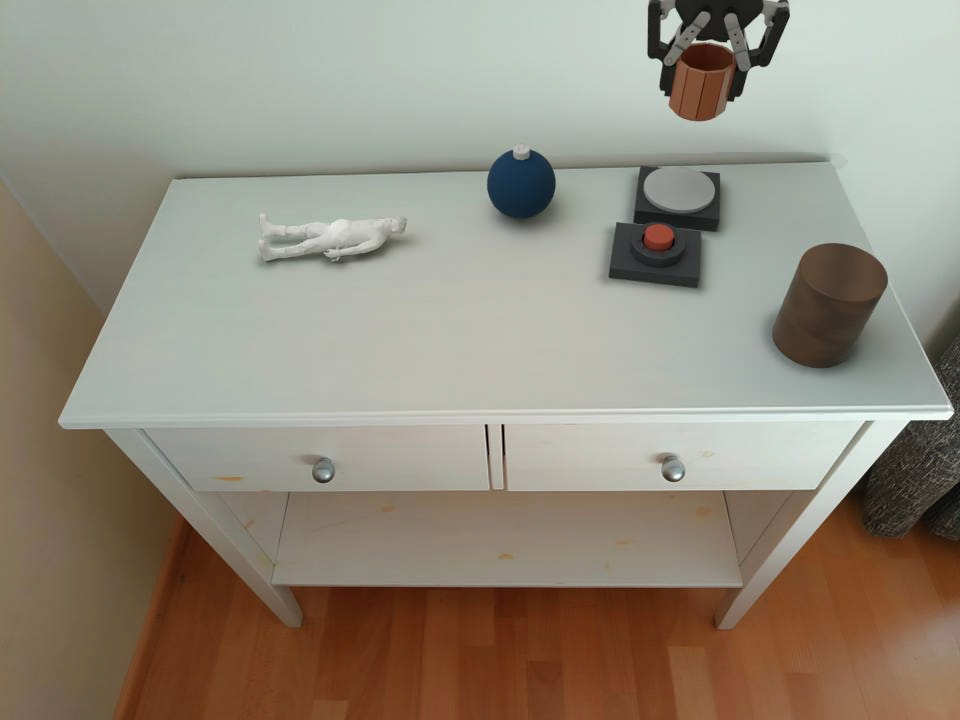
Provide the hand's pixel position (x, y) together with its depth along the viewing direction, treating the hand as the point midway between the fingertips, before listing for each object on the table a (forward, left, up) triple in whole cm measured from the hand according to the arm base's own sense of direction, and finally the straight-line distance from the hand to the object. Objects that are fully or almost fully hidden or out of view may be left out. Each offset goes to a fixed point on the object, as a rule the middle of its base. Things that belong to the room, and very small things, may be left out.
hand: (699, 94), depth 81 cm
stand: (-15, +20, -15) cm, 29 cm away
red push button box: (+2, +10, -15) cm, 19 cm away
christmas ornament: (+19, +4, -15) cm, 25 cm away
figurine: (+40, +14, -15) cm, 45 cm away
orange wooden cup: (0, 0, -2) cm, 2 cm away
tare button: (+2, +10, -13) cm, 16 cm away
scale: (0, 0, -15) cm, 15 cm away
